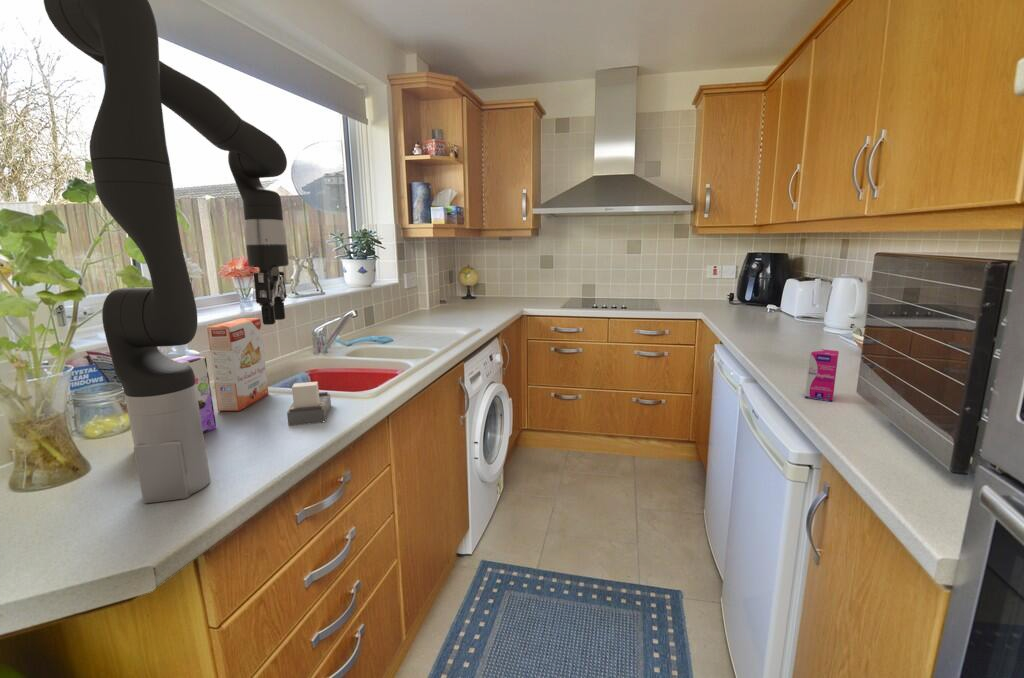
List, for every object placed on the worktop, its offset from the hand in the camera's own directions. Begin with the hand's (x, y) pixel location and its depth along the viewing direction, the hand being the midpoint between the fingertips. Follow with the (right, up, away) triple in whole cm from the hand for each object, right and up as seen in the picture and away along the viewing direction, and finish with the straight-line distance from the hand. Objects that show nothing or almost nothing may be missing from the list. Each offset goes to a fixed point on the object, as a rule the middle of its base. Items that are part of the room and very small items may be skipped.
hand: (274, 321), depth 102 cm
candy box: (-20, -25, -1) cm, 32 cm away
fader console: (+3, -21, +12) cm, 25 cm away
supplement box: (+125, -18, +16) cm, 127 cm away
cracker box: (-18, -20, +22) cm, 35 cm away
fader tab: (+3, -19, +8) cm, 21 cm away
